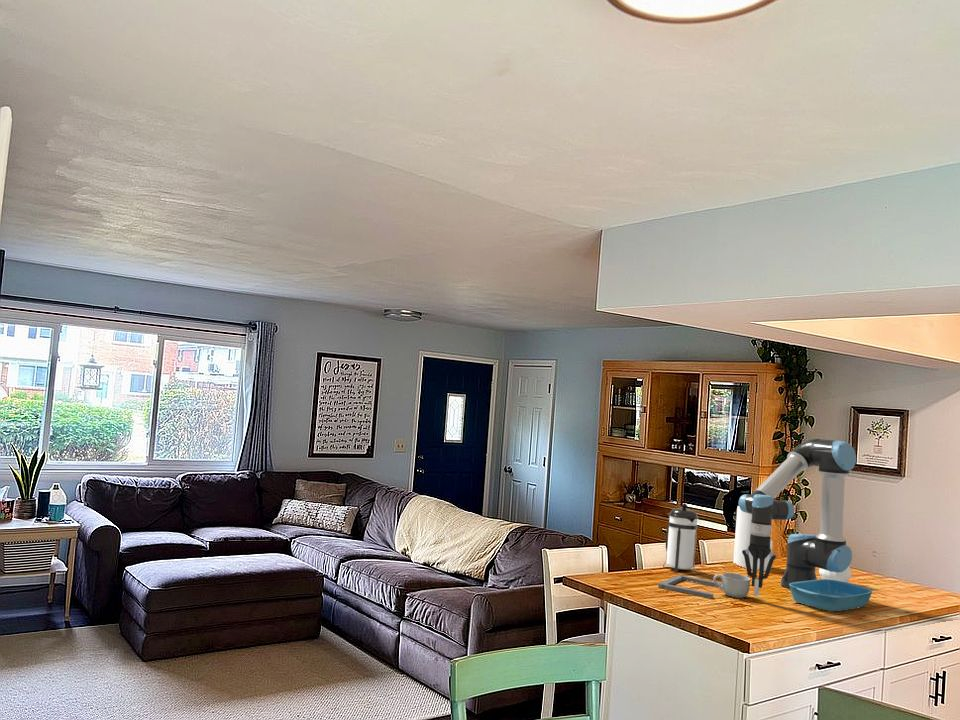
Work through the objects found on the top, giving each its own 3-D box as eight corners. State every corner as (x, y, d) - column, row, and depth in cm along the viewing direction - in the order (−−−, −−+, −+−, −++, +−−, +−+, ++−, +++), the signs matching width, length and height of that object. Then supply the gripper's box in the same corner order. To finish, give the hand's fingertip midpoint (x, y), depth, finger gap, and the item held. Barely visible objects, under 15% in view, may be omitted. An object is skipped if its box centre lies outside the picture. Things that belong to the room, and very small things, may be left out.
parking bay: (729, 588, 323) (729, 584, 323) (711, 598, 300) (711, 594, 300) (678, 578, 334) (679, 574, 334) (658, 587, 312) (658, 583, 312)
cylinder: (736, 568, 370) (740, 508, 372) (730, 561, 387) (734, 504, 389) (774, 572, 368) (778, 512, 369) (767, 565, 385) (770, 508, 386)
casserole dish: (832, 616, 290) (833, 597, 291) (777, 601, 308) (779, 582, 309) (880, 608, 312) (882, 590, 313) (827, 594, 330) (828, 577, 331)
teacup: (749, 595, 312) (750, 575, 313) (749, 601, 302) (750, 580, 302) (713, 589, 317) (714, 570, 317) (711, 595, 307) (713, 574, 307)
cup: (818, 582, 352) (820, 551, 353) (818, 577, 365) (820, 547, 366) (851, 588, 347) (853, 556, 348) (849, 582, 360) (851, 552, 360)
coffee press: (701, 570, 356) (706, 504, 357) (690, 575, 342) (695, 506, 344) (664, 563, 365) (669, 499, 367) (652, 568, 351) (657, 501, 353)
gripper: (741, 532, 306) (737, 593, 305) (775, 538, 299) (771, 600, 298) (745, 531, 312) (741, 590, 311) (779, 536, 305) (775, 597, 304)
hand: (756, 595), depth 304 cm, fingers closed
